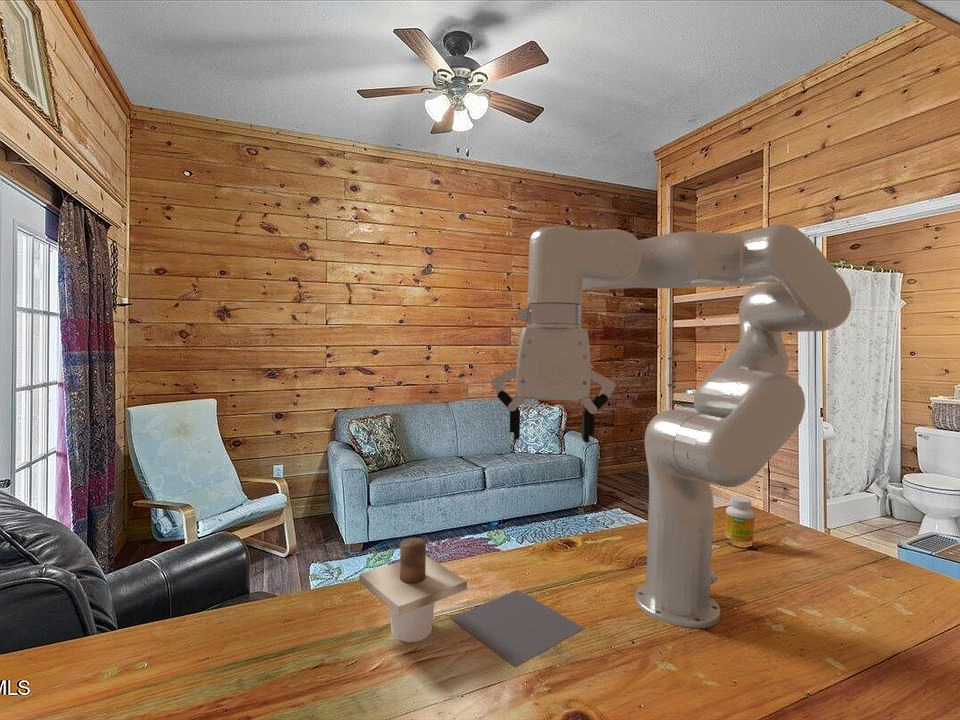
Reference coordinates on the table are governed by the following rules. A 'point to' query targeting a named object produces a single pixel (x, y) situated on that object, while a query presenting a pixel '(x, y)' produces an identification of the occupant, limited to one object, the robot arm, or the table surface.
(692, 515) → the robot arm
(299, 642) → the table surface
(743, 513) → the supplement bottle
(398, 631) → the white cup
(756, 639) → the table surface
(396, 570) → the lid
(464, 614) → the mat
